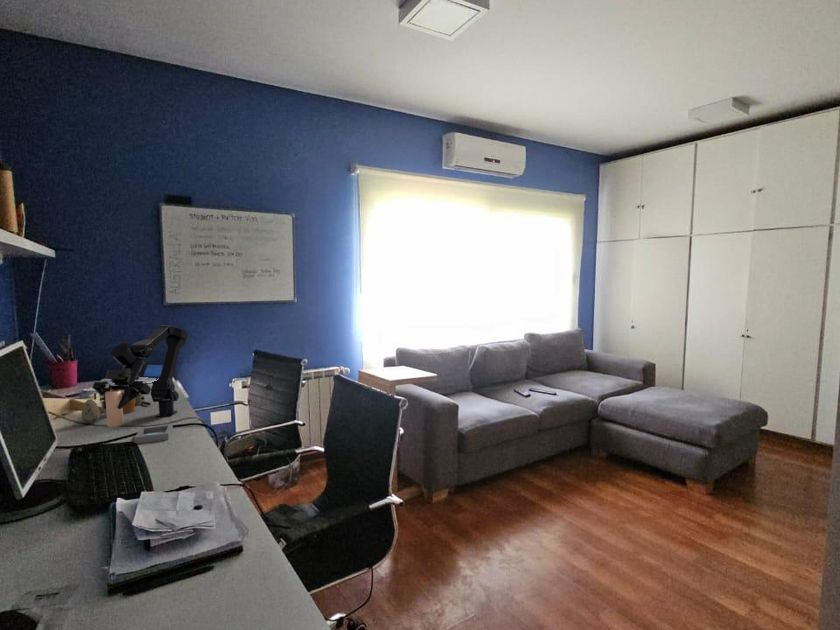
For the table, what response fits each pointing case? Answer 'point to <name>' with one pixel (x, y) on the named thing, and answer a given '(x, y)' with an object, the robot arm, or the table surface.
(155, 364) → the handheld game console
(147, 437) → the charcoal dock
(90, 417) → the decorative egg
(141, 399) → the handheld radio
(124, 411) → the disposable coffee cup
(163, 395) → the robot arm
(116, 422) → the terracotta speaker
